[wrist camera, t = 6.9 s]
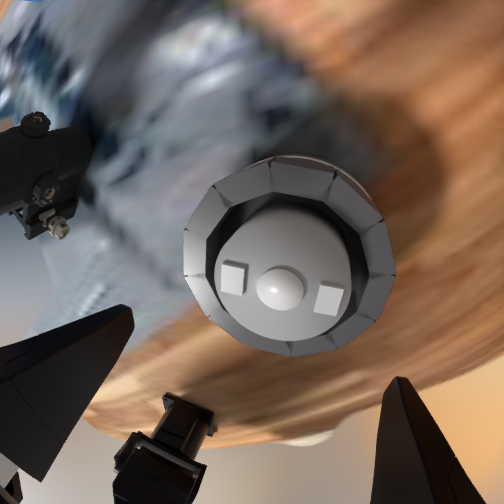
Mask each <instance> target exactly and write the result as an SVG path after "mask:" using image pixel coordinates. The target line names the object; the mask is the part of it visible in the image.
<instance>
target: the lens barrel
mask: <svg viewBox="0 0 504 504" xmlns="http://www.w3.org/2000/svg"><path fill="white" fill-rule="evenodd" d="M280 201H297V202H302V203H307V204H310V205H312V206H315V207H317V208H319V209H320V210H322V211H324V212H325V213H326V214H328V215H329V216H330V217H331V218H332V219H333V220H334V221H335V222H336V223H337V224H338V225H339V227H340V228H341V230H342V232H343V233H344V235H345V238H346V240H347V244H348V248H349V257H350V271H351V296H350V300H349V304H348V306H347V308H346V311H345V312H344V314H343V315H342V317H341V318H340V319H339V321H338V322H337V323H336V324H335V325H333V326H332V327H331V328H330V329H328V330H327V331H325V332H323V333H322V334H320V335H317V336H315V337H312V338H308V339H304V340H297V341H282V340H275V339H270V338H267V337H264V336H261V335H258V334H256V333H254V332H252V331H250V330H249V329H247V328H245V327H244V326H242V325H241V324H240V323H239V322H237V321H236V320H235V319H234V318H233V317H232V316H231V315H230V314H229V312H228V311H227V310H226V308H225V307H224V305H223V304H222V302H221V300H220V298H219V296H218V293H217V290H216V285H215V277H214V272H215V265H216V261H217V258H218V255H219V253H220V251H221V249H222V248H223V246H224V245H225V244H226V242H227V241H228V240H229V239H230V238H231V237H232V236H233V234H234V233H235V232H236V231H237V230H238V229H239V227H240V226H241V225H242V224H243V223H244V222H245V221H246V219H247V218H248V217H249V216H250V215H251V214H253V213H254V212H255V211H256V210H258V209H260V208H261V207H263V206H266V205H268V204H271V203H275V202H280ZM185 227H186V228H185V229H184V275H186V276H185V279H186V281H187V283H188V284H189V286H190V288H191V290H192V292H193V293H194V295H195V297H196V299H197V301H198V302H199V304H200V306H201V308H202V310H203V311H204V313H205V315H206V316H208V315H210V316H209V317H208V318H209V319H210V320H211V321H213V322H214V323H215V324H216V325H218V326H219V327H220V328H222V329H223V330H224V331H226V332H227V333H229V334H230V335H231V336H233V337H234V338H235V339H237V340H238V341H239V342H241V343H242V344H245V343H246V342H247V346H249V347H252V348H256V349H260V350H264V351H268V352H272V353H276V354H280V355H284V356H288V357H290V355H291V354H292V356H293V357H297V356H304V355H311V354H317V353H323V352H329V351H335V350H337V347H338V348H339V349H340V348H342V347H343V346H345V345H346V344H348V343H349V342H350V341H352V340H353V339H355V338H356V337H357V336H359V335H360V334H362V333H363V332H364V331H366V330H367V329H368V328H370V327H371V326H372V325H374V324H375V323H376V320H378V319H379V317H380V315H381V312H382V310H383V308H384V306H385V303H386V301H387V298H388V296H389V294H390V291H391V289H392V286H393V284H394V281H395V278H396V275H395V274H396V268H395V263H394V259H393V254H392V249H391V245H390V240H389V236H388V232H387V228H386V224H385V220H384V218H383V216H382V214H381V212H380V210H379V208H378V207H377V205H376V203H374V202H373V201H372V199H371V198H370V196H369V194H368V193H367V191H366V190H365V188H364V187H363V186H362V184H361V183H360V182H359V181H358V180H357V179H356V178H355V177H354V176H353V175H352V174H351V173H350V172H348V171H347V170H346V169H345V168H343V167H341V166H340V165H338V164H336V163H335V162H333V161H330V160H328V159H325V158H323V157H319V156H315V155H312V154H304V153H287V154H281V155H276V156H272V157H269V158H266V159H264V160H262V161H258V162H256V163H254V164H252V165H250V166H248V167H246V168H244V169H243V170H241V171H238V172H236V173H234V174H231V175H229V176H227V177H225V178H223V179H222V180H220V181H218V182H216V183H214V185H212V186H211V187H210V188H209V190H208V191H207V193H206V194H205V196H204V197H203V199H202V200H201V202H200V203H199V205H198V207H197V208H196V210H195V211H194V213H193V214H192V216H191V217H190V219H189V220H188V222H187V224H186V225H185Z"/></svg>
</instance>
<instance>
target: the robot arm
mask: <svg viewBox="0 0 504 504" xmlns="http://www.w3.org/2000/svg"><path fill="white" fill-rule="evenodd" d="M134 327H135V324H134V318H133V313H132V309H131V308H130V307H129V306H126V305H123V304H119V305H116V306H113V307H111V308H108V309H105V310H103V311H100V312H97V313H95V314H92V315H90V316H87V317H84V318H82V319H79V320H76V321H74V322H71V323H68V324H66V325H63V326H60V327H58V328H55V329H52V330H50V331H47V332H45V333H42V334H39V335H38V336H34V337H31V338H28V339H26V340H23V341H20V342H17V343H14V344H10V345H7V346H3V347H0V504H19V503H20V502H21V500H22V499H23V496H22V491H21V485H20V479H19V474H18V472H17V470H18V469H19V468H21V469H22V470H23V471H25V472H26V473H28V474H29V475H30V476H32V477H33V478H35V479H37V480H38V481H39V482H42V480H43V479H44V477H45V475H46V474H47V472H48V470H49V469H50V467H51V465H52V463H53V462H54V460H55V458H56V457H57V455H58V453H59V452H60V450H61V448H62V446H63V444H64V443H65V441H66V440H67V438H68V436H69V435H70V433H71V431H72V430H73V428H74V427H75V425H76V424H77V422H78V420H79V419H80V417H81V416H82V414H83V412H84V411H85V409H86V408H87V406H88V405H89V403H90V402H91V400H92V398H93V397H94V395H95V394H96V392H97V391H98V389H99V388H100V386H101V385H102V383H103V382H104V380H105V379H106V377H107V376H108V374H109V373H110V371H111V370H112V368H113V367H114V365H115V364H116V362H117V360H118V358H119V357H120V355H121V353H122V351H123V349H124V347H125V345H126V343H127V342H128V340H129V338H130V336H131V334H132V332H133V330H134ZM162 399H163V404H164V408H165V413H164V415H163V416H162V418H161V420H160V421H159V423H158V425H157V426H156V428H155V430H154V431H153V433H152V435H151V436H150V438H149V437H148V436H146V435H144V434H143V433H142V432H140V431H138V433H135V432H132V434H131V435H130V437H129V438H128V440H127V441H126V443H125V444H124V445H123V446H122V448H121V449H120V450H119V451H118V452H117V454H116V455H115V456H114V460H115V468H114V472H116V473H117V474H118V475H117V476H116V478H115V480H114V482H113V485H112V486H113V496H114V504H192V503H193V501H194V499H195V497H196V495H197V493H198V490H199V488H200V484H201V482H202V479H203V476H204V473H205V470H206V467H207V465H205V464H201V463H198V462H196V461H194V459H195V457H196V455H197V453H198V451H199V449H200V447H201V445H202V443H203V441H204V438H205V436H206V435H207V436H211V437H212V436H213V434H214V413H212V412H211V411H208V410H205V409H202V408H199V407H197V406H194V405H191V404H188V403H186V402H183V401H180V400H178V399H175V398H173V397H170V396H168V395H163V397H162ZM138 447H140V449H138ZM370 504H486V503H485V501H484V500H483V498H482V497H481V495H480V494H479V492H478V491H477V489H476V488H475V487H474V485H473V484H472V482H471V480H470V479H469V478H468V476H467V474H466V473H465V471H464V469H463V468H462V466H461V464H460V462H459V461H458V459H457V457H455V454H454V452H453V450H452V449H451V447H450V445H449V443H448V442H447V440H446V438H445V437H444V435H443V433H442V432H441V430H440V429H439V427H438V425H437V424H436V422H435V420H434V419H433V417H432V416H431V414H430V412H429V411H428V409H427V407H426V406H425V404H424V403H423V401H422V400H421V398H420V397H419V395H418V393H417V392H416V390H415V389H414V387H413V386H412V384H411V383H410V381H409V380H408V378H406V377H399V376H396V377H395V378H394V379H393V380H392V381H391V383H390V384H389V386H388V387H387V389H386V390H385V392H384V394H383V399H382V407H381V414H380V421H379V427H378V433H377V442H376V457H375V467H374V477H373V486H372V494H371V502H370Z"/></svg>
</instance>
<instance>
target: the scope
mask: <svg viewBox="0 0 504 504" xmlns="http://www.w3.org/2000/svg"><path fill="white" fill-rule="evenodd" d="M50 124H51V122H50V120H49V119H48V118H47V117H46V115H44V113H42V112H37V111H36V112H35V113H33V112H32V113H30V114H28V115H26V116H24V117H23V119H22V120H21V124H20V126H16V127H12V128H10V129H8V130H6V131H4V132H1V133H0V216H1V215H3V214H5V213H8V214H9V215H12V214H14V215H15V216H16V217H17V219H18V220H19V222H20V223H21V224H22V226H23V227H24V228H25V232H26V233H25V234H24V235H25V236H26V238H27V239H28V240H31V239H32V238H34V237H36V236H38V235H40V234H41V233H43V232H45V231H47V230H48V231H49V233H50V234H51V235H52V236H56V237H57V238H58V239H59V240H61V239H63V238H65V237H66V235H67V234H68V233H69V231H70V228H69V226H68V225H67V224H66V220H68V219H70V218H72V217H74V213H75V210H76V206H77V204H76V203H75V202H71V199H72V197H73V195H74V192H75V189H76V186H77V183H78V180H79V177H80V174H81V173H82V172H83V171H84V170H86V168H87V166H88V165H89V162H90V159H91V152H92V151H91V142H90V138H89V136H88V134H87V132H86V131H85V130H84V129H83V128H81V127H80V126H73V127H67V128H62V129H57V130H51V131H48V130H49V125H50ZM21 210H24V211H23V215H21V214H20V213H19V212H20V211H21ZM60 234H62V235H63V236H62V237H60Z"/></svg>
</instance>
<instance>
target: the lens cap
mask: <svg viewBox="0 0 504 504" xmlns="http://www.w3.org/2000/svg"><path fill="white" fill-rule="evenodd" d="M214 277H215V285H216V290H217V293H218V296H219V298H220V300H221V302H222V304H223V305H224V307H225V308H226V310H227V311H228V312H229V314H230V315H231V316H232V317H233V318H234V319H235V320H236V321H237V322H239V323H240V324H241V325H242V326H244V327H245V328H247V329H249V330H250V331H252V332H254V333H256V334H258V335H261V336H264V337H267V338H270V339H275V340H282V341H297V340H304V339H308V338H312V337H315V336H317V335H320V334H322V333H323V332H325V331H327V330H328V329H330V328H331V327H332V326H333V325H335V324H336V323H337V322H338V321H339V319H340V318H341V317H342V315H343V314H344V312H345V311H346V308H347V306H348V304H349V300H350V296H351V271H350V257H349V248H348V244H347V240H346V238H345V235H344V233H343V232H342V230H341V228H340V227H339V225H338V224H337V223H336V222H335V221H334V220H333V219H332V218H331V217H330V216H329V215H328V214H326V213H325V212H324V211H322V210H320V209H319V208H317V207H315V206H312V205H310V204H307V203H302V202H297V201H280V202H275V203H271V204H268V205H266V206H263V207H261V208H260V209H258V210H256V211H255V212H254V213H253V214H251V215H250V216H249V217H248V218H247V219H246V221H245V222H244V223H243V224H242V225H241V226H240V227H239V229H238V230H237V231H236V232H235V233H234V234H233V236H232V237H231V238H230V239H229V240H228V241H227V242H226V244H225V245H224V246H223V248H222V249H221V251H220V253H219V255H218V258H217V261H216V265H215V272H214Z"/></svg>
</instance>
